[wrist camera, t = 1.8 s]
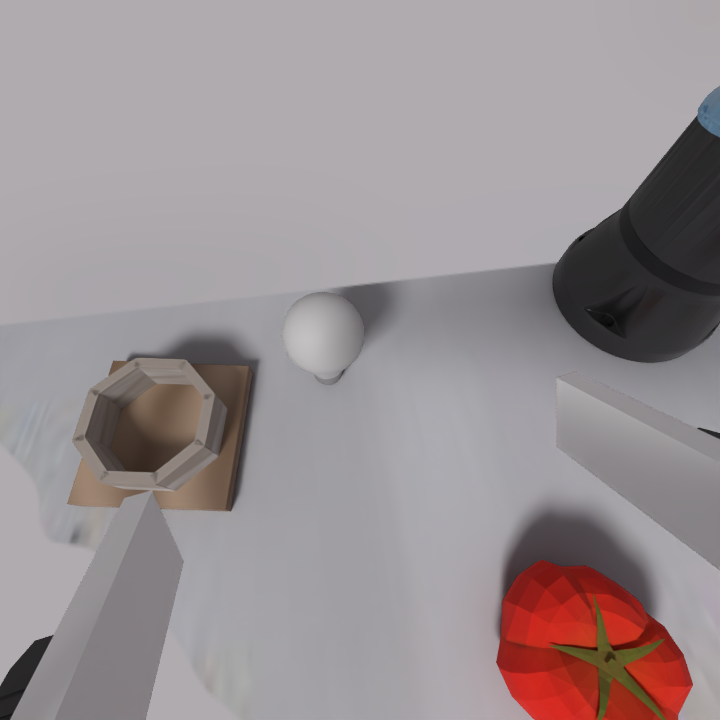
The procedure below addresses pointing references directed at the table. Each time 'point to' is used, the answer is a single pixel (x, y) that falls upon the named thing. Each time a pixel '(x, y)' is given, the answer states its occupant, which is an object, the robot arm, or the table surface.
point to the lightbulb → (323, 335)
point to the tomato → (587, 649)
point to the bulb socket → (162, 434)
